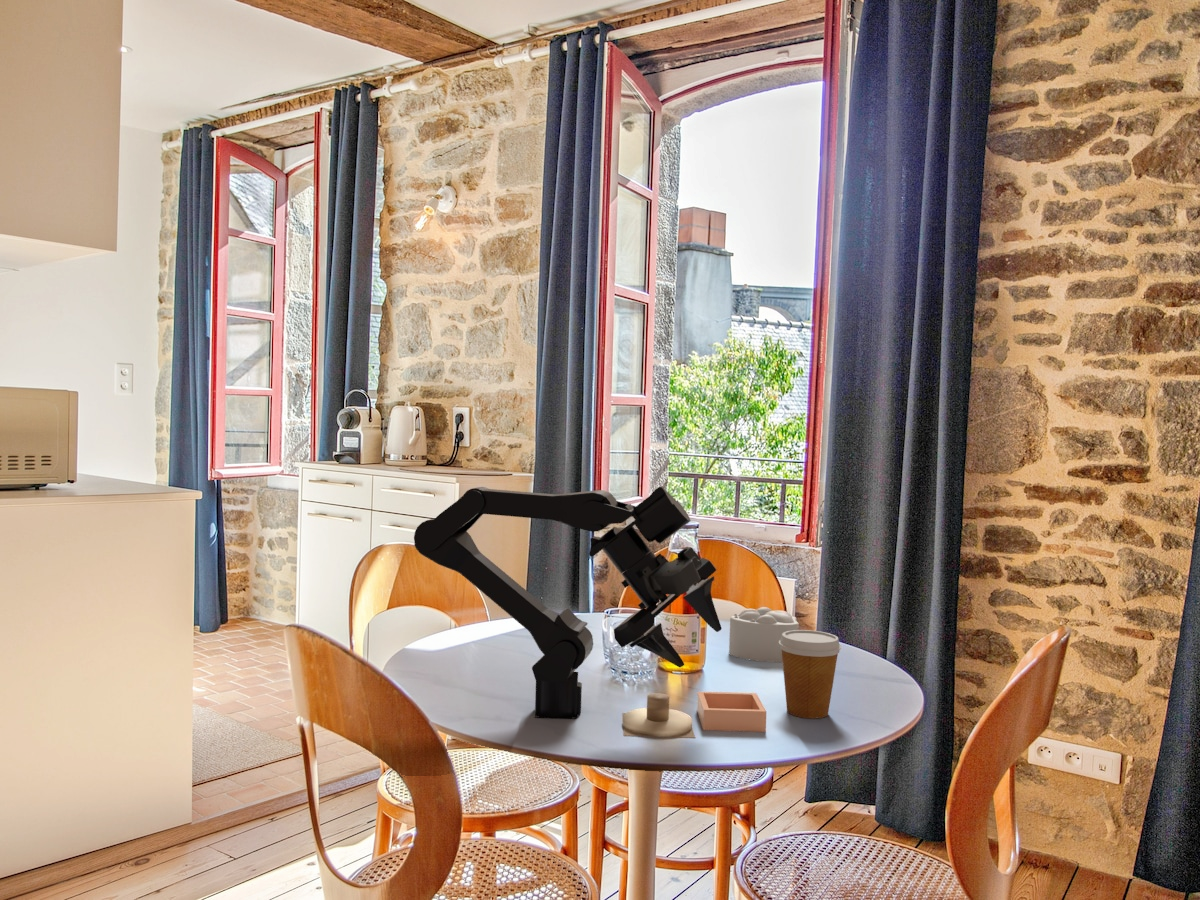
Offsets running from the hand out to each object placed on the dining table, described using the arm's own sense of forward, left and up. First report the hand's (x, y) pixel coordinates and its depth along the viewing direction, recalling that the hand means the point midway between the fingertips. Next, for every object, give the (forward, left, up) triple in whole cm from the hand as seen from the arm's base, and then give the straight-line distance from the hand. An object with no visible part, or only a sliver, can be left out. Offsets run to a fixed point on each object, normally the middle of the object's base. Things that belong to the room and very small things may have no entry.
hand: (701, 648), depth 135 cm
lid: (-6, -1, -11) cm, 13 cm away
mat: (-6, -1, -12) cm, 13 cm away
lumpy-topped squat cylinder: (+17, +45, -12) cm, 49 cm away
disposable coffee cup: (+18, +9, -12) cm, 23 cm away
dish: (+5, +2, -12) cm, 13 cm away
